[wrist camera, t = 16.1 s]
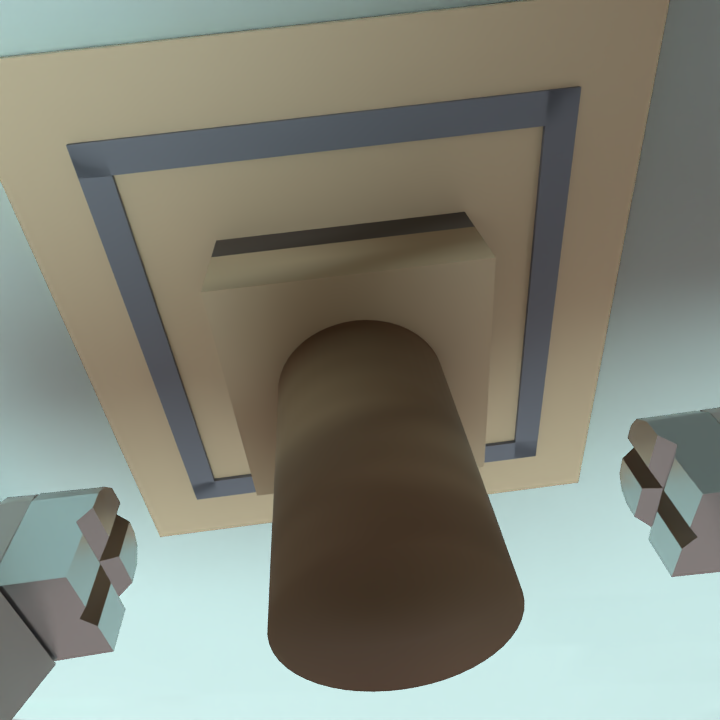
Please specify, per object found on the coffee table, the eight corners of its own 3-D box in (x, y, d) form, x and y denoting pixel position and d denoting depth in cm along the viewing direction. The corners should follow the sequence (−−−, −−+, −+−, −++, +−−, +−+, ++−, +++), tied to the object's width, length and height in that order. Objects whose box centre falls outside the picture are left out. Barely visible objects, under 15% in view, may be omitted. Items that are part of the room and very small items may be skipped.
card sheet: (662, -15, 10) (675, -15, 9) (573, 474, 17) (579, 485, 16) (-44, 61, 10) (-56, 65, 9) (162, 528, 16) (159, 539, 16)
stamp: (464, 211, 11) (631, 457, 6) (460, 403, 14) (569, 695, 9) (216, 240, 11) (133, 520, 6) (262, 428, 14) (237, 741, 8)
